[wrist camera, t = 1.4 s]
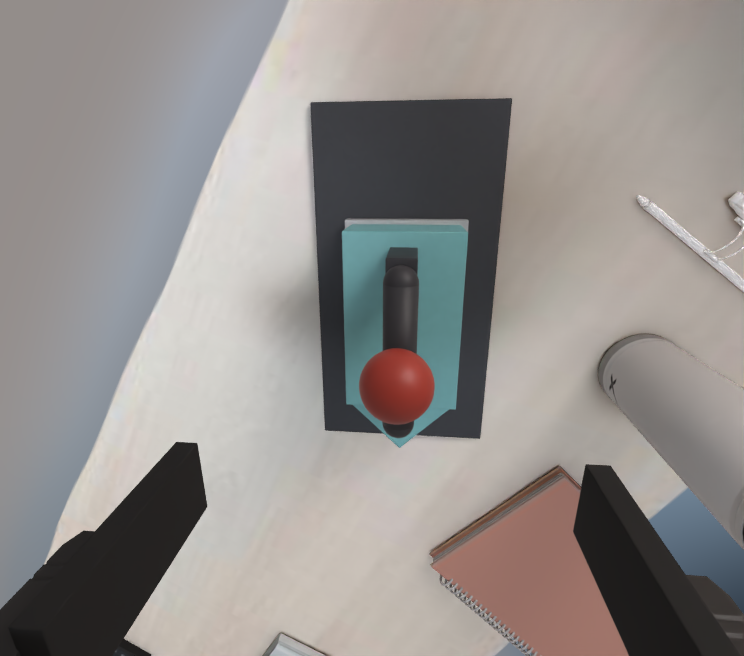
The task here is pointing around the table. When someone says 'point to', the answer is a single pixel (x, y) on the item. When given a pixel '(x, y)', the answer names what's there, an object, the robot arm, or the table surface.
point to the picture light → (738, 202)
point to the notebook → (532, 574)
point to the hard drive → (289, 648)
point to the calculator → (129, 650)
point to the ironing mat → (410, 201)
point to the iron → (403, 319)
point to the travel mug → (684, 419)
